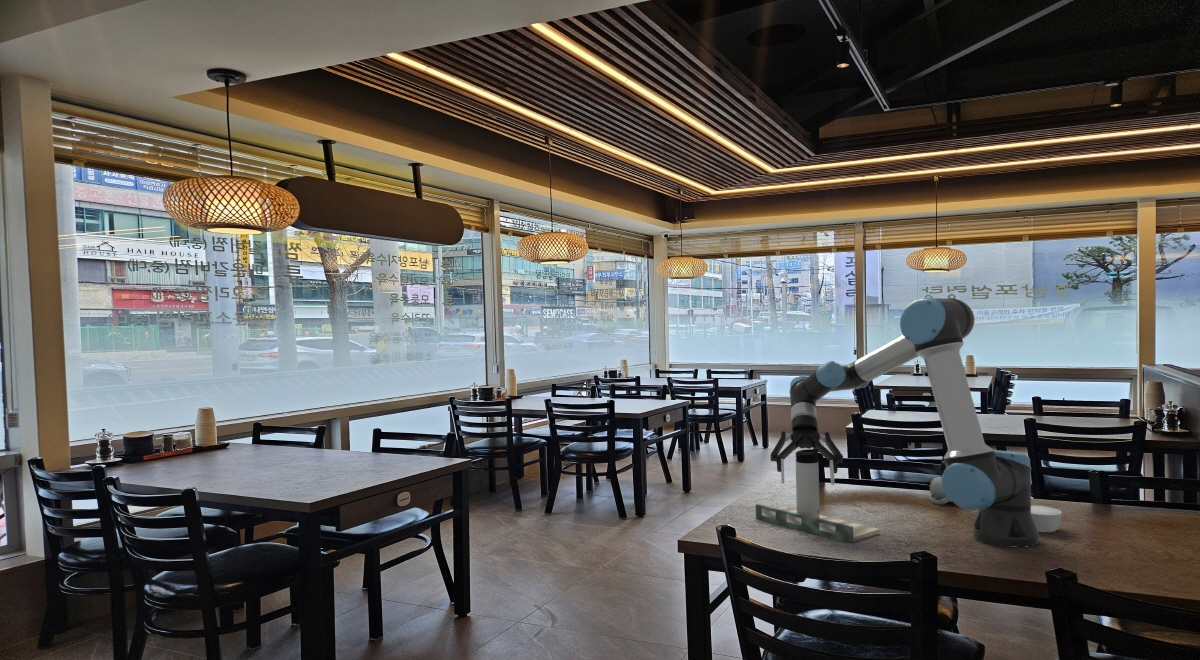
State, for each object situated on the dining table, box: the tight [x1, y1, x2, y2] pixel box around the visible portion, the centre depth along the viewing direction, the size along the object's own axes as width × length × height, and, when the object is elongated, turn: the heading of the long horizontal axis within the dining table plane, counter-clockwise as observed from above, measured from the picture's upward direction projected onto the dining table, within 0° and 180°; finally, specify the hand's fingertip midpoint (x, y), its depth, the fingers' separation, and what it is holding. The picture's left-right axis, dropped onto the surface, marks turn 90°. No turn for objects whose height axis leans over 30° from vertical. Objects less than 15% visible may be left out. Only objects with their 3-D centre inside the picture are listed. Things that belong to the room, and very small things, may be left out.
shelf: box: [755, 503, 881, 543], centre depth 207 cm, size 32×13×4 cm, turn 37°
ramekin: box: [1031, 504, 1063, 532], centre depth 201 cm, size 11×11×5 cm
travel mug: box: [795, 448, 821, 519], centre depth 209 cm, size 6×7×20 cm
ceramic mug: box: [929, 476, 952, 505], centre depth 232 cm, size 11×8×8 cm
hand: (807, 481), depth 207 cm, fingers open, 13 cm apart
